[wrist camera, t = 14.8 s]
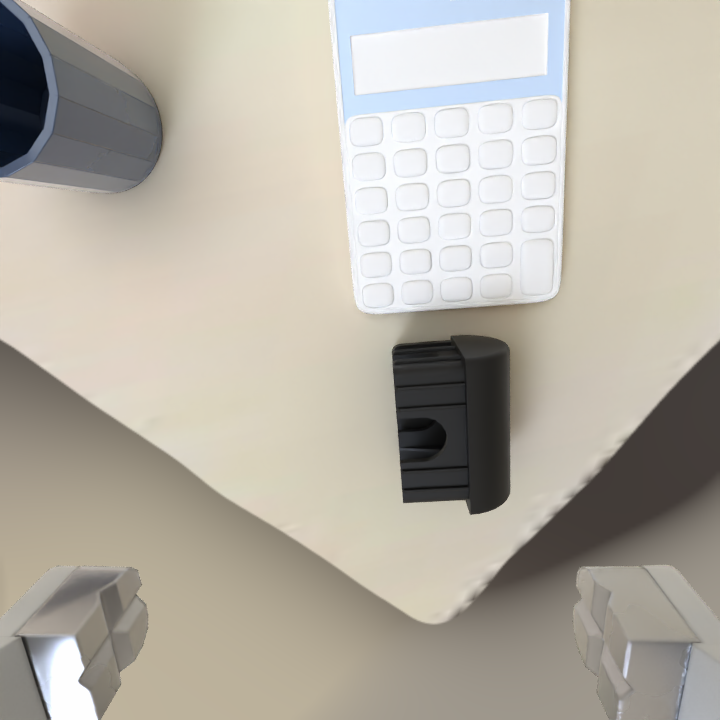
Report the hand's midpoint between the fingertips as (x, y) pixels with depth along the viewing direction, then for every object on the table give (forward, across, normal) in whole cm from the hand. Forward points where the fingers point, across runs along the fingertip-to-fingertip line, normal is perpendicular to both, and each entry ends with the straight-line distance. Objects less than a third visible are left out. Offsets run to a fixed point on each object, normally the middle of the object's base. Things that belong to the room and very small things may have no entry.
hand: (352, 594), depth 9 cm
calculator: (+25, -5, -11) cm, 28 cm away
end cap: (+25, -5, +6) cm, 26 cm away
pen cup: (+25, +17, -13) cm, 33 cm away
